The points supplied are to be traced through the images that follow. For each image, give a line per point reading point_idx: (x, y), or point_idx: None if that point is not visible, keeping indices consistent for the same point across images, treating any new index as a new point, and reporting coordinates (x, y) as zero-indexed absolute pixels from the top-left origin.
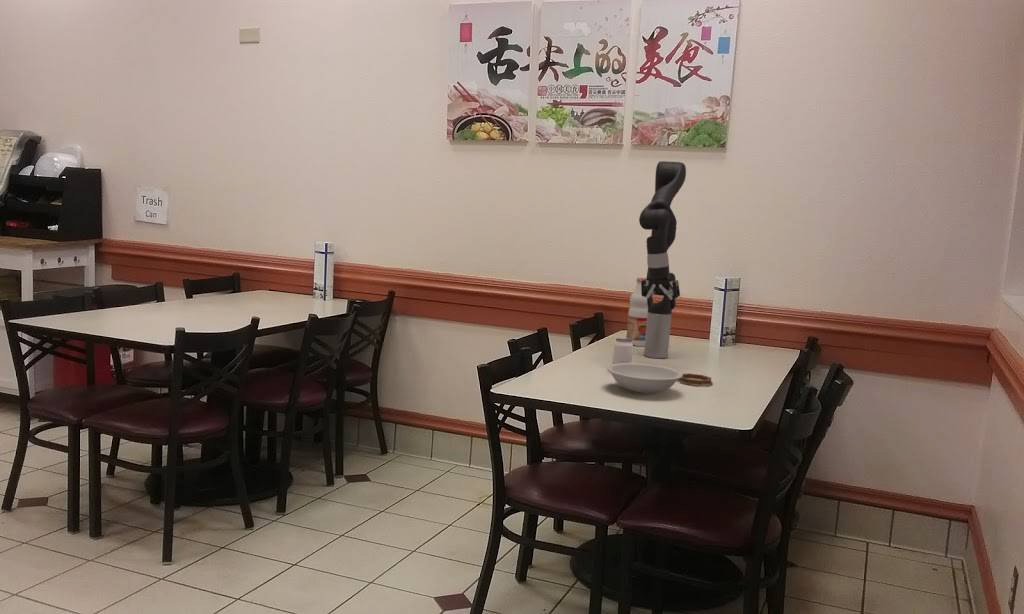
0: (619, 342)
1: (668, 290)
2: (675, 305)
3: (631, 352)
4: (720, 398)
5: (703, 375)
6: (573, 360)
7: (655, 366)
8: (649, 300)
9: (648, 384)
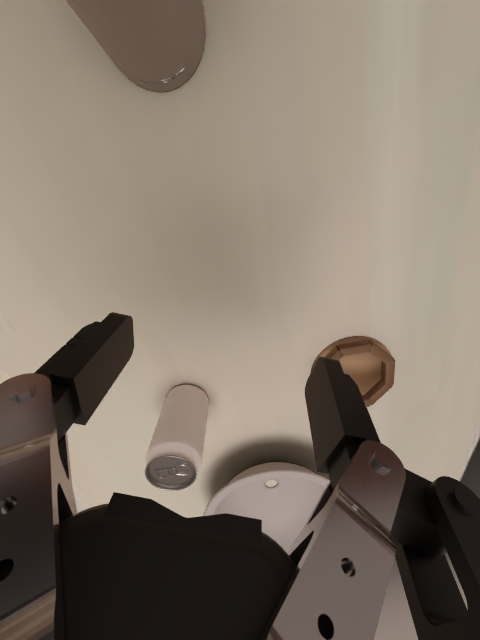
0: (168, 485)
1: (320, 550)
2: (356, 389)
3: (203, 446)
4: (402, 453)
5: (375, 347)
6: (18, 341)
7: (284, 477)
8: (90, 408)
9: (294, 538)
